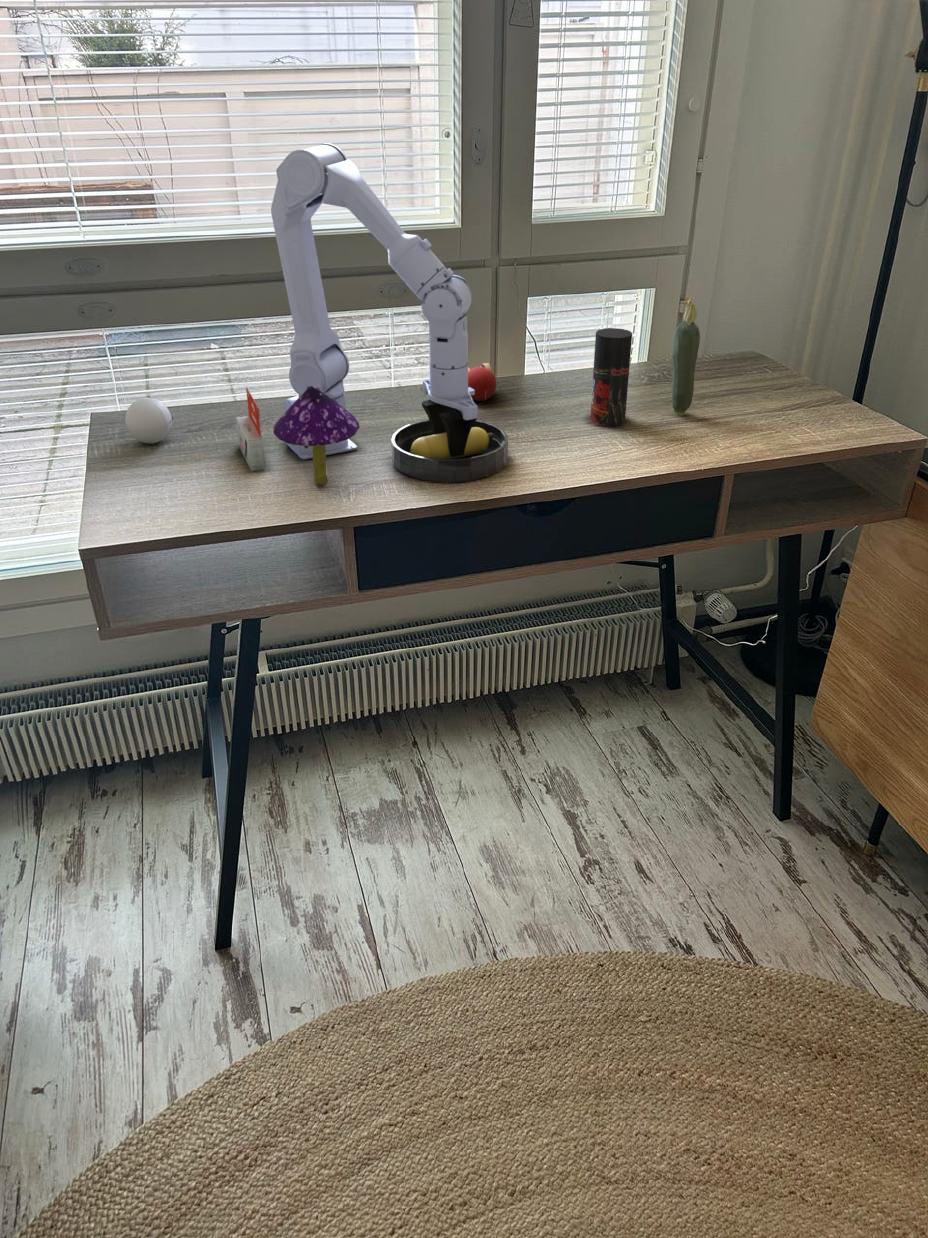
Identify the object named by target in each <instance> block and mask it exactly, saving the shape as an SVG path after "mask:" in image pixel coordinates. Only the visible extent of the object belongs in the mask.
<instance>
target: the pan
mask: <svg viewBox="0 0 928 1238" xmlns="http://www.w3.org/2000/svg"><path fill="white" fill-rule="evenodd" d="M472 427H479V428H482V429H483V430H485V431H486V433H487V434H488V433H493V435H494V437H493V438H492V439H489V444H488V447H487V449H486V450H485V451H484V452H482V453H479V454H475V455H470V456H465V457H461V458H456V459H435V458H426V457H421V456H417V455H413V454H411V446H412V444H413V442H414V441H415V440H416V439H418V438H421V437H425V436H430V435H434V434H433V430H432V427H431V423H430V420H429V419H424V420H419V421H415V422H412V423H409V424H406V425H404V426H402V427H400V428H398V429H397V430H396V431H395V432H394V433H393V434H392V437H391V440H390V443H391V460H392V464H393V466H394V468H396V469H397V470H398V471H399V472H401V473H403V474H404V475H407V476H409V477H411V478H413V479H417V480H420V481H425V482H427V481H428V482H432V483H446V484H447V483H465V482H472V481H477V480H481V479H483V478H487V477H490V476H492V475H494V474H496V473H497V472H499V471H501V470H502V469H504V467H505V466H506V465H507V463H508V459H509V458H508V454H509V453H508V452H509V435H508V434H507V432H506V431H505V430H504V429H502V428H501V427H500V426H498V425H495V424H493V423H491V422H489V421H484V420H479V419H476V421H475V422H474V424H473V426H472Z"/></svg>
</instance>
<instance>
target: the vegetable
mask: <svg viewBox="0 0 928 1238" xmlns="http://www.w3.org/2000/svg"><path fill="white" fill-rule="evenodd" d="M684 306H686V307H685V310H684V313H683V321H682V322H680V323H679V324H678V325H677V327H676V328H675V330H674V332H673V336H672V337H673V338H672V347H671V348H672V350H671V351H672V353H671V355H672V364H673V369H672V386H671V387H672V388H671V392H672V393H671V406H672V409H673V412H674V413H675V414H676V415H677V416H680V415H682V414H683V415H684V414H685V413H686V412H687V410H688V409H689V408H691V405H692V402H693V397H694V391H695V390H694V389H695V374H696V373H695V372H696V365H697V359H698V355H699V347H700V343H701V341H700V340H701V333H700V332H701V331H700V329H699V326H698V325H697V323H695V320H696V319H697V316H698V310H697V307H696V305H695V304H694V301H693V298H691V297H689V296H686V297H685V303H684Z"/></svg>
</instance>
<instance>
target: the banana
mask: <svg viewBox="0 0 928 1238" xmlns="http://www.w3.org/2000/svg"><path fill="white" fill-rule="evenodd" d="M493 437H494V435H493V433H488V434H487V433H486V431H485V430H483V429H482V428H479V427H472V428H471V430H470V433H469V436H468V440H467V444H466V448H465V452H464V455H460V456H455V457H452V456H450V453H449V448H448V440H447V434H446V433H441V434H436V435H430V436H425V437H421V438H418V439H416V440H415V441H414V442H413V444H412V446H411V454H413V455H417V456H421V457H426V458H435V459H456V458H461V457H465V456H470V455H475V454H479V453H482V452H484V451H485V450H486V449H487V447H488V444H489V439H492V438H493Z"/></svg>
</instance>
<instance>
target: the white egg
mask: <svg viewBox="0 0 928 1238" xmlns="http://www.w3.org/2000/svg"><path fill="white" fill-rule="evenodd" d="M124 418H125V420H124V421H125V426H126V429H127V431H128V433H129V434H130V435H131V436H132V438H134V439H136V440H137V441H138V442H140V443H145V444H148V445H149V444H157V443H160V442H161V441H164V440H165V439H166V437H168V436H169V434H170V432H171V430H172V427H173V420H174V419H173V418H174V417H173V416H172V415H171V412H170V409H169V408H168V407H167V406H166V404H164V403H163V402H162V401H160V400H158V399H157V398H151V397H141V398H139V399H136V400H135V401H133V402H132V403H131V404H130V405H129V407H128V408H127V410H126V413H125V415H124Z"/></svg>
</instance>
